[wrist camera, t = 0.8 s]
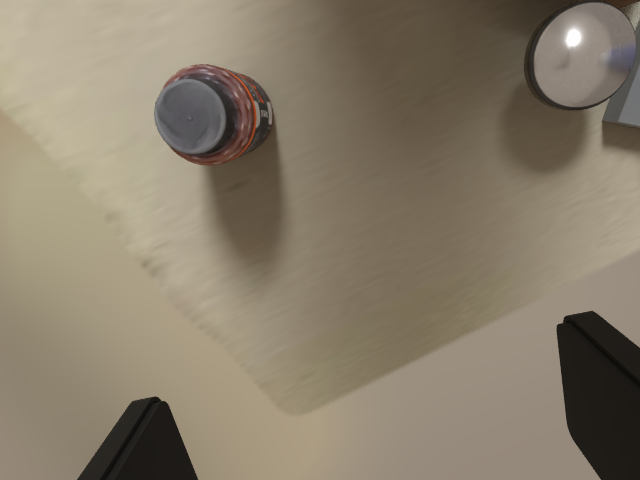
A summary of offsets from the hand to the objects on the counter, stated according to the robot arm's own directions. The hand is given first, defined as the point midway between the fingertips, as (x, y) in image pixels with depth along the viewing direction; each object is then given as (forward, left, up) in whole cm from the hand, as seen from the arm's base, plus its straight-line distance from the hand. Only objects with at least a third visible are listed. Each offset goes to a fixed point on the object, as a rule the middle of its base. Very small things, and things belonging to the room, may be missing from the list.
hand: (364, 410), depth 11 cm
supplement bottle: (-4, -10, -27) cm, 29 cm away
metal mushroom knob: (-12, +12, -27) cm, 32 cm away
